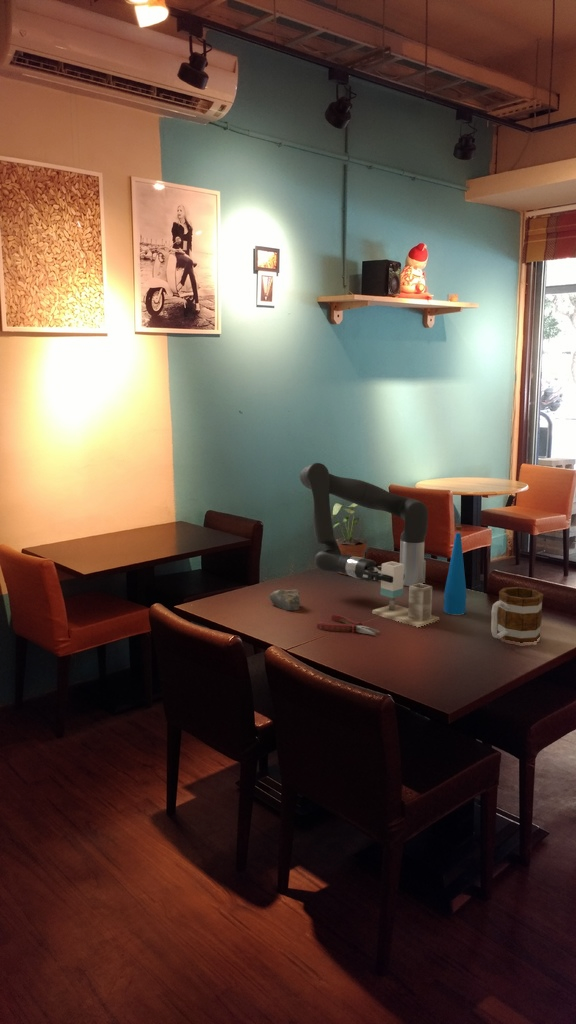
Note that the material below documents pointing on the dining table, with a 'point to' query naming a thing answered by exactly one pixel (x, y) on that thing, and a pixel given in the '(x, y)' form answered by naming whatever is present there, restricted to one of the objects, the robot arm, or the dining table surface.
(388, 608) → the peg socket fixture
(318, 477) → the robot arm
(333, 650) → the dining table surface
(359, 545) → the potted plant
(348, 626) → the pliers
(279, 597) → the rock
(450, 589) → the bottle
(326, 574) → the dining table surface
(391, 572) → the sleeve
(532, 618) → the mug
